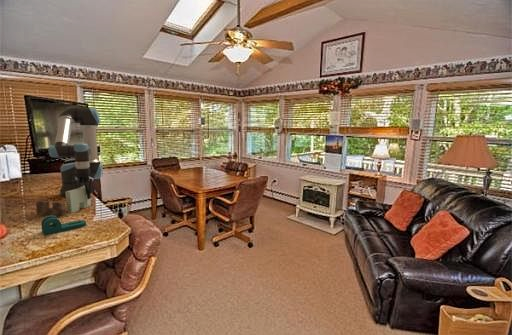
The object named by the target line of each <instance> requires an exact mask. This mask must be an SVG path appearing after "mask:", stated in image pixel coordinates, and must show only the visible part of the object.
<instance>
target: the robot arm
mask: <svg viewBox="0 0 512 335" xmlns="http://www.w3.org/2000/svg"><path fill="white" fill-rule="evenodd" d="M57 122H58V126H57V131H56V136H55V140H54V144H52V145H49V146H48V155H49V156H50V157H51V158H74V162H69V163H65V164H62V165H61V166H60V175H61V187H60V190H59V195H60V196H61V197H66V194H65V192H66V191H70V190H73V189H77V188H80V187H83V186H85V189H86V194H85V197H86V204H89V203H90V198H91V199H92V196H91V195H90V194H93V193H94V181H95V180H98V179H101V178H102V176H103V168H104V165H103V164H104V163H101V160H99V156H98V140H97V139H98V138H97V137H98V136H97V128H99V124H101V119H100V114H99V110H98V109H97V108H96V107H95V108H94V107H81V106H80V107H78V106H77V107H76V106H72V107H68V108H65V109H64V110H63V111H61V113H60V114H59V115H58V118H57ZM74 124H79V127H81V129H82V138H83V142H82V143H78V142H77V143H74V144H73V145H70V141H71V134H72V129H73V126H74Z"/></svg>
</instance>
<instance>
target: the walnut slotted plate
mask: <svg viewBox="0 0 512 335" xmlns="http://www.w3.org/2000/svg"><path fill="white" fill-rule="evenodd" d="M35 206H36V207H35V208H36V215H37V216H45V217H46V216H49V215H53V216H56V217H60V218H61V217H62V218H63V217H65V216H66V215H67V214H66V213H67V211H66V202H65V201H53V202H51V207H50V202H49V200H37V201H35Z"/></svg>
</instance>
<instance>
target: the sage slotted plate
mask: <svg viewBox="0 0 512 335" xmlns="http://www.w3.org/2000/svg"><path fill="white" fill-rule="evenodd" d="M65 194H66V196H65V201H66V202H65V206H66V213H67V214H73V213H76V212H78V211H80V208H81V209H86V208H87V207H91V206H92V197H91V198H90V203H89V204H86V197H85V194H86V189H85V185H83V187H80V188H77V189H73V190H70V191H66V192H65ZM91 194H92V193H91ZM91 194H90V195H91Z"/></svg>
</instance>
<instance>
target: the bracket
mask: <svg viewBox="0 0 512 335" xmlns="http://www.w3.org/2000/svg"><path fill="white" fill-rule="evenodd" d="M85 227H87V221H86V220H84V219H79V220H74V221H70V222H64V223H62V222H61V221H60V219H59V218H58V216H53V215H49V216H45V217H43V218H42V220H41V232H42V234H43V236H45V237H47V236H50V235H55V234H56V235H57V234H59V233H65V232H69V231H72V230H77V229H82V228H85Z"/></svg>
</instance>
